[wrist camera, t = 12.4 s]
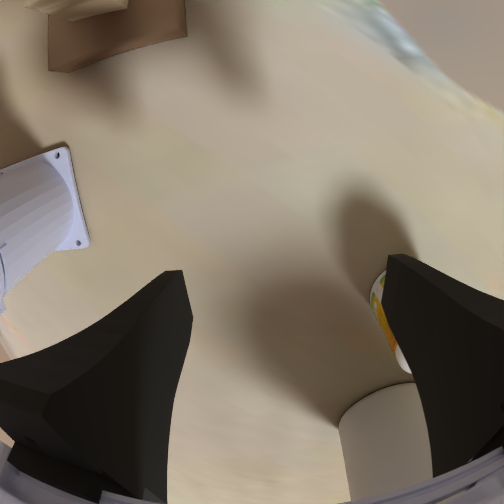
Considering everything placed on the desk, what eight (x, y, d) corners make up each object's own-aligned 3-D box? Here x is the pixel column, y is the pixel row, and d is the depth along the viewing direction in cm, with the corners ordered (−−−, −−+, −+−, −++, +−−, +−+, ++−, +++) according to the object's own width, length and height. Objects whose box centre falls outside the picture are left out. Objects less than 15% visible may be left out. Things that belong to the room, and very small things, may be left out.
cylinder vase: (445, 374, 28) (512, 543, 6) (404, 429, 34) (440, 569, 11) (356, 383, 28) (401, 604, 5) (325, 438, 33) (344, 602, 11)
